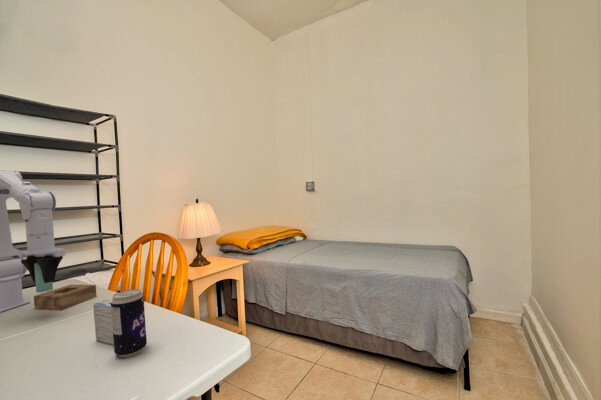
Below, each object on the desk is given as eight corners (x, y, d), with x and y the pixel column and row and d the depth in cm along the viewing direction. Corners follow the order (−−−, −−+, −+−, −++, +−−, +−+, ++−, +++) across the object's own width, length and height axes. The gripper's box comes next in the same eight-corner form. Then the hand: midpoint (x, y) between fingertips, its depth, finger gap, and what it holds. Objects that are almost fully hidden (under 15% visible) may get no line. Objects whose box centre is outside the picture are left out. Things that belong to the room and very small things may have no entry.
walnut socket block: (34, 308, 86) (33, 296, 86) (71, 295, 97) (70, 284, 97) (62, 309, 84) (61, 296, 84) (96, 296, 94) (95, 284, 94)
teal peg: (32, 292, 78) (30, 264, 78) (46, 288, 81) (44, 261, 81) (42, 292, 77) (40, 264, 77) (56, 288, 81) (53, 260, 80)
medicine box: (137, 337, 63) (134, 299, 63) (117, 347, 59) (114, 307, 59) (115, 332, 66) (112, 296, 66) (95, 341, 62) (92, 303, 62)
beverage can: (136, 358, 54) (132, 297, 54) (107, 360, 54) (103, 299, 54) (152, 343, 60) (148, 287, 60) (126, 344, 60) (122, 289, 60)
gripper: (4, 237, 77) (7, 286, 77) (43, 235, 73) (47, 286, 74) (33, 233, 84) (37, 278, 84) (71, 232, 80) (74, 278, 80)
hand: (44, 281), depth 79 cm, fingers closed on teal peg, 3 cm apart
